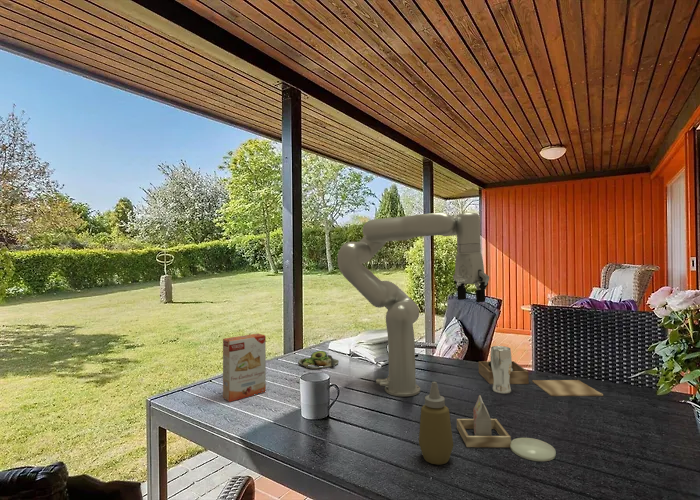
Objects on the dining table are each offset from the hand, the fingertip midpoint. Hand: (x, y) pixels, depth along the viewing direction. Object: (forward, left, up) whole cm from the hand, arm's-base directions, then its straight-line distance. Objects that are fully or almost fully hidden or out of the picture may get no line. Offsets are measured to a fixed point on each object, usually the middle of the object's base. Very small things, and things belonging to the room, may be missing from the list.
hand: (471, 300), depth 128 cm
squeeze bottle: (-19, -38, -33) cm, 54 cm away
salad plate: (-58, +44, -34) cm, 80 cm away
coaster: (+5, -34, -33) cm, 47 cm away
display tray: (+17, +22, -33) cm, 43 cm away
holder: (-5, -27, -33) cm, 43 cm away
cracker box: (-79, +4, -33) cm, 86 cm away
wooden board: (+35, +10, -33) cm, 49 cm away
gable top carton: (-5, -27, -33) cm, 43 cm away
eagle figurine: (+16, +22, -33) cm, 43 cm away
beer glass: (+12, +8, -33) cm, 36 cm away
